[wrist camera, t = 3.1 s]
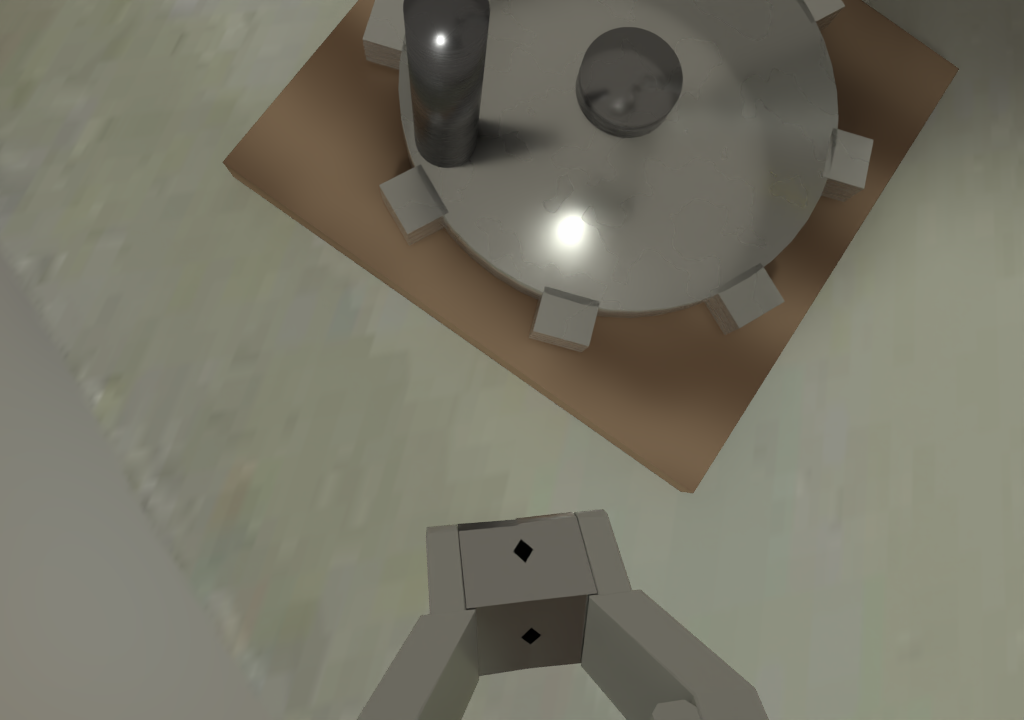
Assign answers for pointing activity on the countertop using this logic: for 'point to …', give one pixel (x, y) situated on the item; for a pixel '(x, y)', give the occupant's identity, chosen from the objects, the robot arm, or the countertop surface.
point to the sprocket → (617, 146)
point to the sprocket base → (509, 313)
